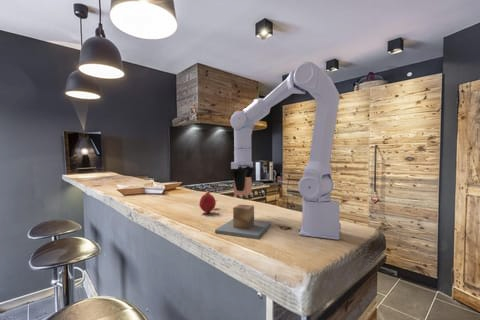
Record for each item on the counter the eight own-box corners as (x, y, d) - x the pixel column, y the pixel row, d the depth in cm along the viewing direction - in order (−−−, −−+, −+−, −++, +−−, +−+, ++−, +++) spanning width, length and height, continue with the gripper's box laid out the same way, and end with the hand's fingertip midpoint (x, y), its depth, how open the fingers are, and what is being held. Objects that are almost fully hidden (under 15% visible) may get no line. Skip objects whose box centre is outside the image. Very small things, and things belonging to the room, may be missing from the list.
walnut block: (254, 224, 64) (254, 205, 64) (248, 229, 60) (248, 208, 60) (239, 223, 66) (239, 204, 66) (233, 227, 62) (233, 207, 62)
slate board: (270, 225, 66) (270, 222, 66) (258, 238, 55) (258, 235, 55) (233, 221, 71) (233, 218, 71) (215, 232, 60) (215, 229, 60)
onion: (212, 215, 78) (212, 192, 78) (197, 214, 79) (196, 192, 79) (217, 211, 84) (217, 190, 84) (203, 211, 85) (202, 189, 85)
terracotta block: (251, 193, 76) (251, 177, 76) (246, 195, 72) (246, 178, 72) (239, 192, 78) (239, 177, 78) (234, 194, 74) (233, 178, 74)
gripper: (240, 149, 83) (240, 186, 83) (222, 148, 70) (222, 192, 70) (258, 149, 81) (258, 187, 81) (243, 147, 67) (243, 193, 67)
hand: (243, 189), depth 75 cm, fingers closed on terracotta block, 4 cm apart
